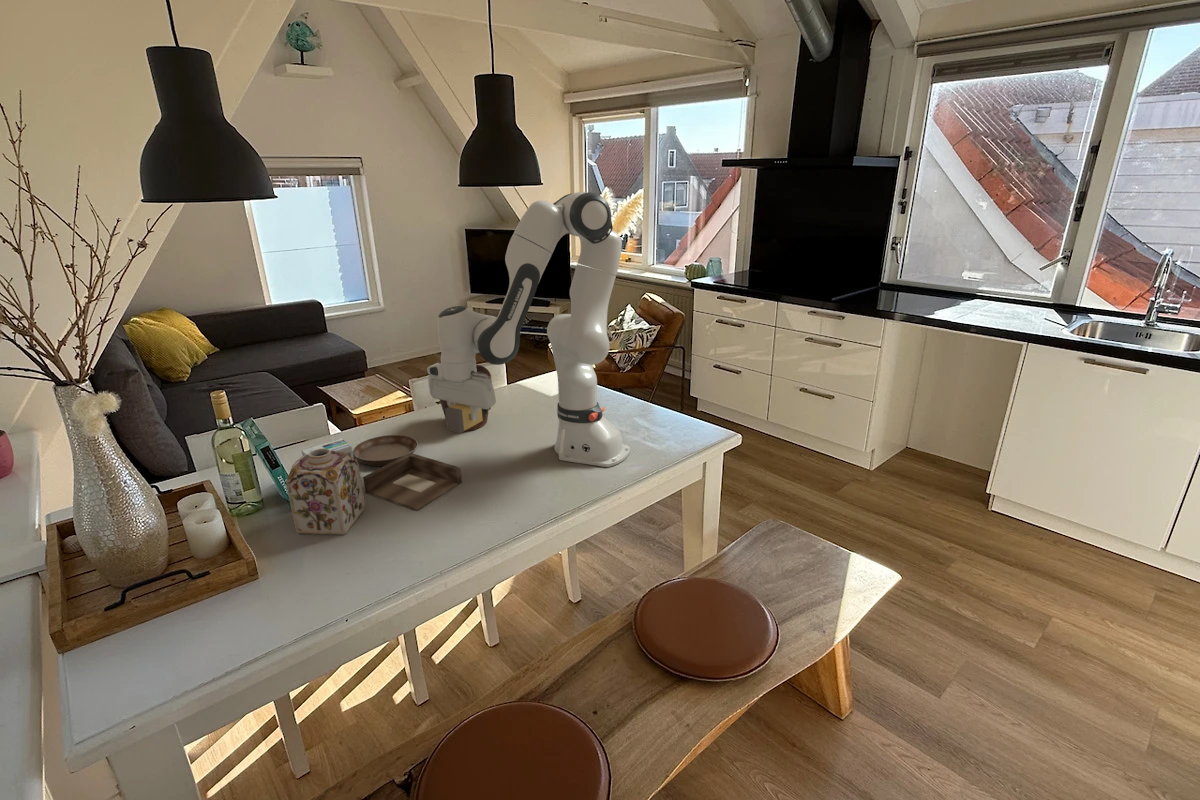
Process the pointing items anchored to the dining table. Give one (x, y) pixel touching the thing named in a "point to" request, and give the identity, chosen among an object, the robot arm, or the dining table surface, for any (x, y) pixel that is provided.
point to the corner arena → (412, 481)
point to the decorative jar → (325, 492)
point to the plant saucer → (384, 449)
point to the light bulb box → (332, 447)
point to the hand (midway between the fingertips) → (464, 417)
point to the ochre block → (461, 417)
